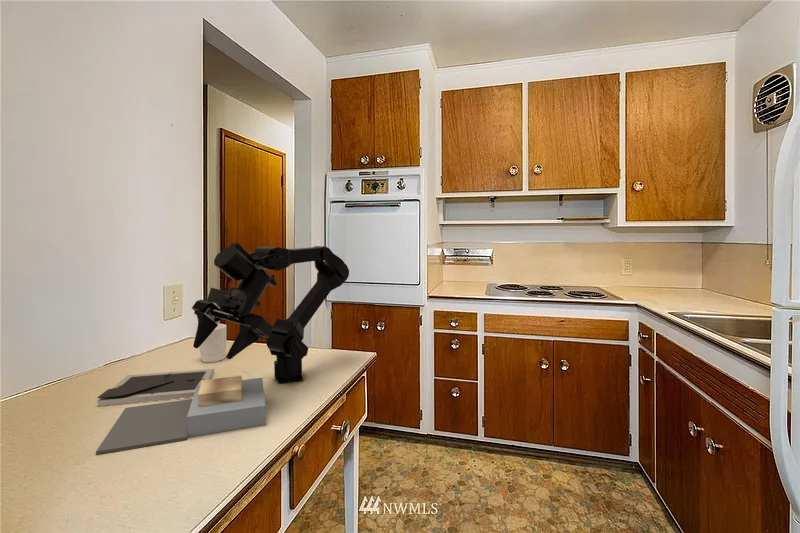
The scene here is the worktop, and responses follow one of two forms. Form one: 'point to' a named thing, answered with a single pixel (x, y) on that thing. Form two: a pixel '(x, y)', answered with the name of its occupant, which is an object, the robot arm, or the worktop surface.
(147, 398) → the picture frame
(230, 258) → the robot arm
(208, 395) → the coaster
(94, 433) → the worktop surface
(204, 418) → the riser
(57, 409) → the worktop surface
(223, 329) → the white cup
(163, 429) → the rubber mat
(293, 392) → the worktop surface
